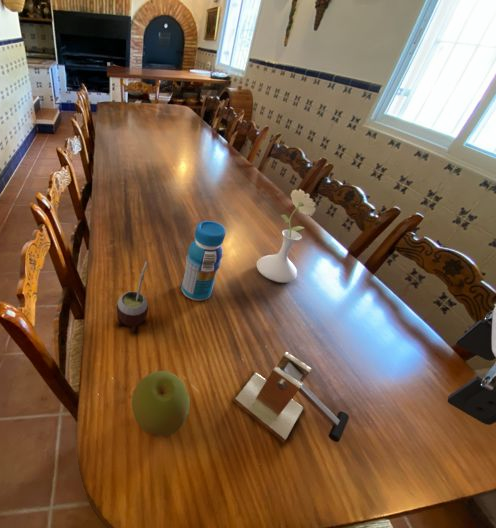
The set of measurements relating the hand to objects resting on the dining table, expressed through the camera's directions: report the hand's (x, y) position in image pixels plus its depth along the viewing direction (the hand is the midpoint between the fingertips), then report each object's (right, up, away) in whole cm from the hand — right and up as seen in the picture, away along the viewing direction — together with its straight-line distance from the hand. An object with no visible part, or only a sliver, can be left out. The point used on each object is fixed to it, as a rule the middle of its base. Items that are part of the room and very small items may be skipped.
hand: (469, 378), depth 31 cm
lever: (-7, -11, +18) cm, 22 cm away
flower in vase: (+4, +10, +58) cm, 59 cm away
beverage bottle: (-20, +5, +49) cm, 53 cm away
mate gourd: (-37, -2, +39) cm, 54 cm away
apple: (-32, -16, +23) cm, 42 cm away
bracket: (-11, -15, +25) cm, 31 cm away
